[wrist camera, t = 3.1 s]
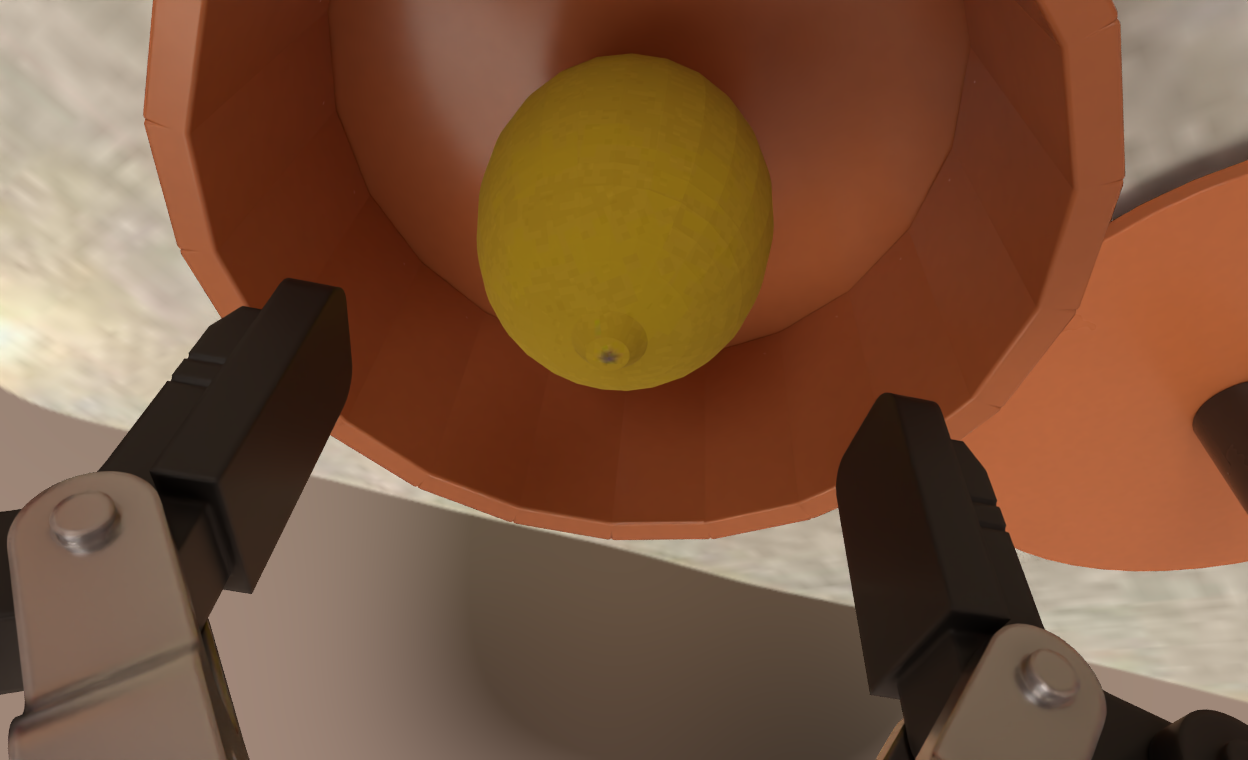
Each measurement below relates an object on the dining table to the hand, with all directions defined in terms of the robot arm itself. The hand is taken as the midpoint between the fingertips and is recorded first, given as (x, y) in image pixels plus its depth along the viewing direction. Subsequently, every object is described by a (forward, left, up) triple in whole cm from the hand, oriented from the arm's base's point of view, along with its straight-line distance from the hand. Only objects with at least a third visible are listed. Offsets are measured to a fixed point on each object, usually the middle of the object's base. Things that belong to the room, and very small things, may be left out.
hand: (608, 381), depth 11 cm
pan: (0, 0, -9) cm, 9 cm away
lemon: (0, 0, -9) cm, 9 cm away
